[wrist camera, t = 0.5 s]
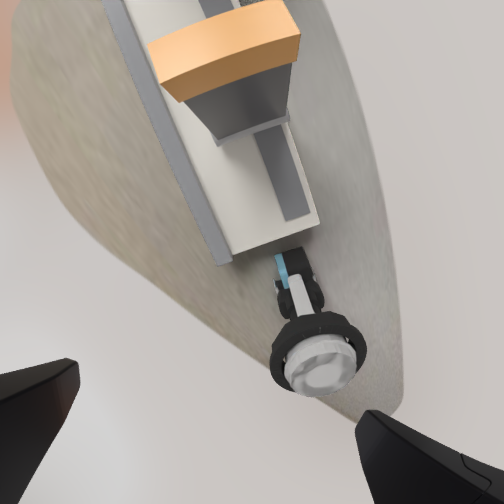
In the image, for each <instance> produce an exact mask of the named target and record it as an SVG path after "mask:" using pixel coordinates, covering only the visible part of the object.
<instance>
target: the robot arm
mask: <svg viewBox="0 0 504 504" xmlns="http://www.w3.org/2000/svg"><path fill="white" fill-rule="evenodd" d="M79 388H80V374H79V365H78V362H76V361H74V360H71V359H68V358H64V359H60V360H56V361H52V362H49V363H45V364H41V365H37V366H33V367H29V368H25V369H21V370H16V371H13V372H9V373H4V374H0V504H18V503H19V501H20V499H21V497H22V495H23V493H24V491H25V490H26V488H27V486H28V484H29V482H30V480H31V478H32V477H33V475H34V473H35V471H36V470H37V468H38V466H39V464H40V463H41V461H42V459H43V457H44V456H45V454H46V452H47V451H48V449H49V447H50V446H51V444H52V442H53V440H54V439H55V437H56V435H57V434H58V432H59V430H60V429H61V427H62V425H63V424H64V422H65V420H66V418H67V415H68V413H69V411H70V409H71V406H72V404H73V401H74V399H75V397H76V395H77V393H78V391H79ZM355 437H356V441H357V446H358V451H359V455H360V460H361V464H362V468H363V471H364V474H365V477H366V480H367V483H368V486H369V489H370V491H371V494H372V497H373V500H374V503H375V504H504V471H503V470H500V469H497V468H495V467H492V466H490V465H487V464H485V463H482V462H479V461H477V460H475V459H473V458H471V457H469V456H466V455H464V454H462V453H461V454H460V453H459V452H457V451H455V450H453V449H451V448H449V447H447V446H445V445H443V444H441V443H439V442H437V441H435V440H433V439H431V438H429V437H427V436H425V435H423V434H421V433H419V432H417V431H416V430H414V429H412V428H410V427H408V426H406V425H404V424H402V423H400V422H399V421H397V420H395V419H393V418H391V417H389V416H388V415H386V414H384V413H382V412H380V411H379V410H366V411H365V412H364V414H363V415H362V417H361V419H360V421H359V422H358V424H357V426H356V428H355Z"/></svg>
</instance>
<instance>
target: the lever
mask: <svg viewBox="0 0 504 504" xmlns="http://www.w3.org/2000/svg"><path fill="white" fill-rule="evenodd" d="M300 36H301V33H300V31H299V29H298V27H297V25H296V24H295V22H294V20H293V18H292V16H291V15H290V13H289V11H288V9H287V7H286V6H285V4H284V2H283V1H282V0H264V1H261V2H257V3H253V4H250V5H247V6H243V7H240V8H237V9H234V10H231V11H228V12H225V13H222V14H219V15H216V16H213V17H210V18H207V19H205V20H202V21H199V22H197V23H194V24H192V25H189V26H187V27H184V28H182V29H180V30H177V31H175V32H172V33H170V34H168V35H166V36H163V37H161V38H159V39H157V40H155V41H153V42H150V43H148V44H147V47H148V50H149V53H150V56H151V59H152V62H153V65H154V68H155V71H156V74H157V77H158V80H159V83H160V85H161V86H162V87H163V88H164V89H165V90H166V91H167V92H168V93H169V94H170V95H171V96H172V97H173V98H174V99H175V100H176V101H177V102H178V103H181V102H184V103H185V104H186V105H187V106H188V107H189V108H190V110H191V111H192V112H193V113H194V114H195V115H196V116H197V117H198V118H199V120H200V121H201V122H202V123H203V124H204V125H205V126H206V127H207V128H208V130H209V131H210V133H211V136H212V138H213V140H214V142H215V144H216V146H217V147H219V146H222V145H224V144H227V143H230V142H232V141H235V140H238V139H240V138H243V137H246V136H248V135H251V134H254V133H257V132H259V131H262V130H265V129H268V128H271V127H274V126H277V125H280V124H283V123H286V122H289V121H290V116H289V112H288V109H287V100H288V91H289V83H290V75H291V67H292V62H295V61H297V56H298V49H299V43H300Z"/></svg>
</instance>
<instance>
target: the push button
mask: <svg viewBox="0 0 504 504" xmlns="http://www.w3.org/2000/svg"><path fill="white" fill-rule="evenodd" d="M274 256H275V260H276V263H277V266H278V270H279V274H280V277H281V280H280V281H276V283H275V280H274V279H273V282H274V286H275V290H276V293H277V300H278V305H279V309H280V312H281V314H282V316H283V317H284V318H285V319H289V318H290V320H291V321H290V322H288V323H287V324H285V325H284V327H283V329H282V330H281V332H280V333H279V335H278V336H277V338H276V339H275V341H274V342H273V344H272V354H271V356H270V372H271V375H272V377H273V379H274V380H275V382H276V383H277V384H278V385H280V386H281V387H283V388H284V389H286V390H289V391H292V392H296V393H298V394H300V395H304V396H307V397H322V396H325V395H330V394H332V393H335V392H337V391H338V390H340V389H342V388H344V387H345V386H346V385H348V383H349V382H350V381H351V380H352V379H353V378H354V376H355V374H356V372H357V371H358V370H359V369H360V368H361V366H362V365H363V363H364V361H365V358H366V354H367V346H366V342H365V340H364V338H363V336H362V334H361V333H360V331H359V330H358V329H356V328H355V327H354V326H352V325H350V323H349V322H348V321H347V319H346V318H345V316H343V315H340V314H337V313H334V312H331V311H327V312H321V308H323V307H324V296H323V293H322V291H321V289H320V286H319V285H318V283H317V280H316V276H315V274H314V272H313V269H312V267H311V268H310V264H309V261H308V259H307V257H306V254H305V252H304V250H303V247H299V248H296V249H293V250H290V251H286V252H283V253H280V254H276V255H274ZM276 284H277V286H276ZM345 337H346V338H348V339H349V341H348V343H347V341H346V338H345ZM284 356H285V360H286V363H285V362H284V361H283V358H284Z"/></svg>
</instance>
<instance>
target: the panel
mask: <svg viewBox="0 0 504 504" xmlns="http://www.w3.org/2000/svg"><path fill="white" fill-rule="evenodd" d="M101 1H102V4H103V6H104V9H105V11H106V14H107V17H108V19H109V22H110V24H111V27H112V29H113V32H114V35H115V37H116V40H117V42H118V45H119V47H120V50H121V52H122V54H123V57H124V59H125V62H126V64H127V67H128V69H129V72H130V74H131V76H132V79H133V81H134V84H135V86H136V88H137V91H138V93H139V95H140V98H141V100H142V103H143V105H144V107H145V110H146V112H147V114H148V117H149V119H150V121H151V123H152V126H153V128H154V130H155V133H156V135H157V137H158V139H159V142H160V144H161V146H162V149H163V151H164V153H165V155H166V157H167V160H168V162H169V164H170V166H171V169H172V171H173V173H174V175H175V177H176V180H177V182H178V184H179V186H180V188H181V191H182V193H183V195H184V197H185V199H186V201H187V204H188V206H189V208H190V210H191V212H192V214H193V216H194V219H195V221H196V223H197V225H198V227H199V229H200V231H201V233H202V235H203V238H204V240H205V242H206V244H207V246H208V248H209V250H210V252H211V254H212V256H213V258H214V260H215V263H216V265H217V267H218V266H221V265H224V264H226V263H229V262H232V261H233V255H234V254H237V253H240V252H243V251H246V250H248V249H251V248H254V247H257V246H260V245H262V244H265V243H268V242H271V241H274V240H276V239H279V238H282V237H285V236H288V235H290V234H293V233H296V232H299V231H302V230H305V229H307V228H310V227H313V226H316V225H319V224H320V221H319V217H318V214H317V211H316V207H315V204H314V201H313V198H312V194H311V191H310V188H309V185H308V182H307V179H306V176H305V173H304V169H303V166H302V163H301V160H300V157H299V154H298V151H297V149H296V146H295V143H294V140H293V137H292V134H291V131H290V128H289V126H288V123H287V122H286V123H283V124H280V125H277V126H274V127H271V128H268V129H265V130H262V131H259V132H257V133H254V134H251V135H248V136H246V137H243V138H240V139H238V140H235V141H232V142H230V143H227V144H224V145H222V146H219V147H217V146H216V144H215V142H214V140H213V138H212V136H211V133H210V131H209V130H208V128H207V127H206V126H205V125H204V124H203V123H202V122H201V121H200V120H199V118H198V117H197V116H196V115H195V114H194V113H193V112H192V111H191V110H190V108H189V107H188V106H187V105H186V104H185V103H184V102H181V103H178V102H177V101H176V100H175V99H174V98H173V97H172V96H171V95H170V94H169V93H168V92H167V91H166V90H165V89H164V88H163V87H162V86H161V85H160V83H159V80H158V77H157V74H156V71H155V68H154V65H153V62H152V59H151V56H150V53H149V50H148V47H147V44H148V43H150V42H153V41H155V40H157V39H159V38H161V37H163V36H166V35H168V34H170V33H172V32H175V31H177V30H180V29H182V28H184V27H187V26H189V25H192V24H194V23H197V22H199V21H202V20H205V19H207V18H210V17H213V16H216V15H219V14H222V13H225V12H228V11H231V10H234V9H237V8H240V7H241V5H240V3H239V1H238V0H101Z"/></svg>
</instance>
